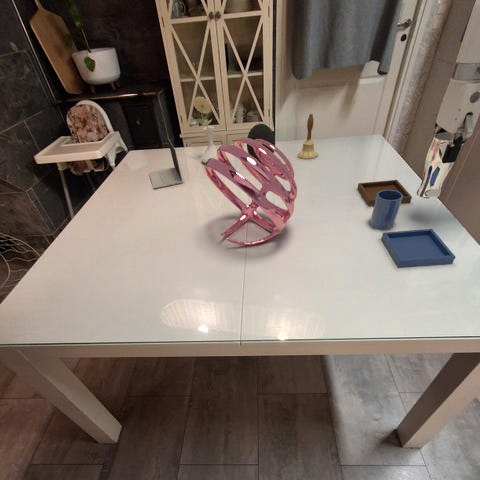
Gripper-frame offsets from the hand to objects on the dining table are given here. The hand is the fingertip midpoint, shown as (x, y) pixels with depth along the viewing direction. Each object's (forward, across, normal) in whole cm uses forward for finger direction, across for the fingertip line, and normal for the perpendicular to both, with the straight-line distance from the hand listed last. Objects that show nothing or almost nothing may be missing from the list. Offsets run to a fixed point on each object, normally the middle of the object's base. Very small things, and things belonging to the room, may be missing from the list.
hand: (441, 156), depth 79 cm
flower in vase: (+16, +66, +69) cm, 97 cm away
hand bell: (+17, +61, +25) cm, 68 cm away
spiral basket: (+17, 0, +51) cm, 54 cm away
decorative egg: (+17, +58, +46) cm, 76 cm away
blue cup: (+18, -1, +12) cm, 21 cm away
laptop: (+16, +50, +89) cm, 103 cm away
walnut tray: (+18, +17, +6) cm, 25 cm away
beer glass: (+10, 0, 0) cm, 10 cm away
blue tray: (+18, -16, +8) cm, 25 cm away
